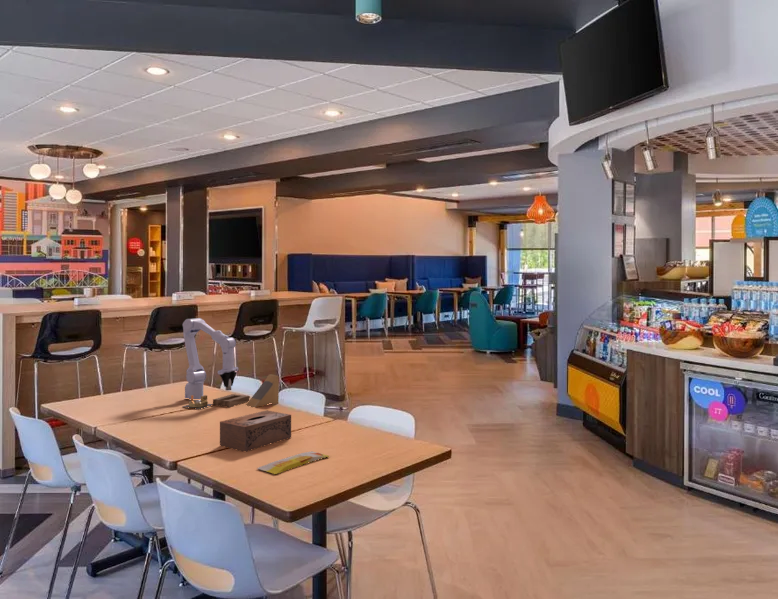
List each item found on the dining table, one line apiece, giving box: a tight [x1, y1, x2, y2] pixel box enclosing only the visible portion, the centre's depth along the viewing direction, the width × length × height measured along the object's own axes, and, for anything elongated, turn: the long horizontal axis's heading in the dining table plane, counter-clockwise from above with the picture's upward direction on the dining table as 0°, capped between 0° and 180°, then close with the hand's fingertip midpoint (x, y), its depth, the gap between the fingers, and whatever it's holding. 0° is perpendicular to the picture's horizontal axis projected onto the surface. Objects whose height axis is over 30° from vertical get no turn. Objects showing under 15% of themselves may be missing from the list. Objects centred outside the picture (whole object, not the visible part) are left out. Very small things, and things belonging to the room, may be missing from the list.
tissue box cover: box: [219, 409, 292, 452], centre depth 254 cm, size 26×14×10 cm, turn 145°
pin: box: [225, 378, 232, 391], centre depth 328 cm, size 3×3×6 cm
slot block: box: [212, 393, 250, 408], centre depth 328 cm, size 11×16×3 cm
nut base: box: [182, 395, 215, 410], centre depth 319 cm, size 12×11×5 cm
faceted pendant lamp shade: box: [188, 394, 209, 407], centre depth 320 cm, size 9×10×4 cm
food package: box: [256, 451, 330, 475], centre depth 226 cm, size 27×2×10 cm
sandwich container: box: [245, 373, 280, 408], centre depth 325 cm, size 9×15×15 cm, turn 135°
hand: (228, 386), depth 328 cm, fingers closed on pin, 3 cm apart
